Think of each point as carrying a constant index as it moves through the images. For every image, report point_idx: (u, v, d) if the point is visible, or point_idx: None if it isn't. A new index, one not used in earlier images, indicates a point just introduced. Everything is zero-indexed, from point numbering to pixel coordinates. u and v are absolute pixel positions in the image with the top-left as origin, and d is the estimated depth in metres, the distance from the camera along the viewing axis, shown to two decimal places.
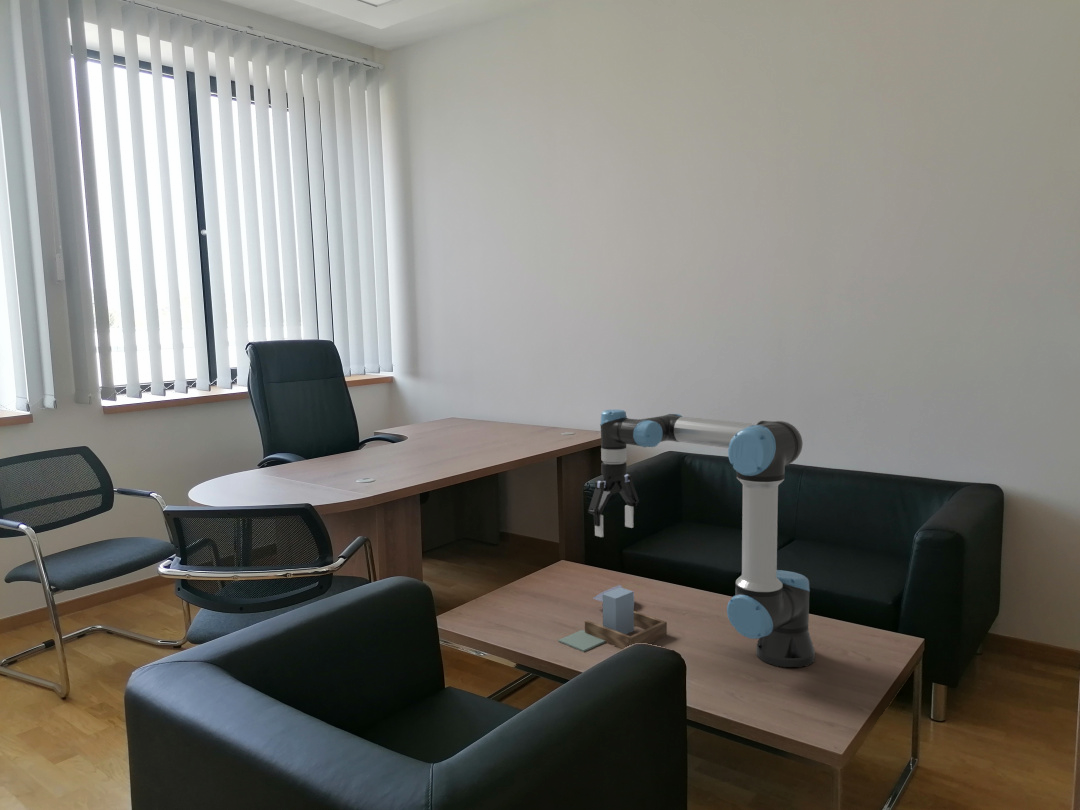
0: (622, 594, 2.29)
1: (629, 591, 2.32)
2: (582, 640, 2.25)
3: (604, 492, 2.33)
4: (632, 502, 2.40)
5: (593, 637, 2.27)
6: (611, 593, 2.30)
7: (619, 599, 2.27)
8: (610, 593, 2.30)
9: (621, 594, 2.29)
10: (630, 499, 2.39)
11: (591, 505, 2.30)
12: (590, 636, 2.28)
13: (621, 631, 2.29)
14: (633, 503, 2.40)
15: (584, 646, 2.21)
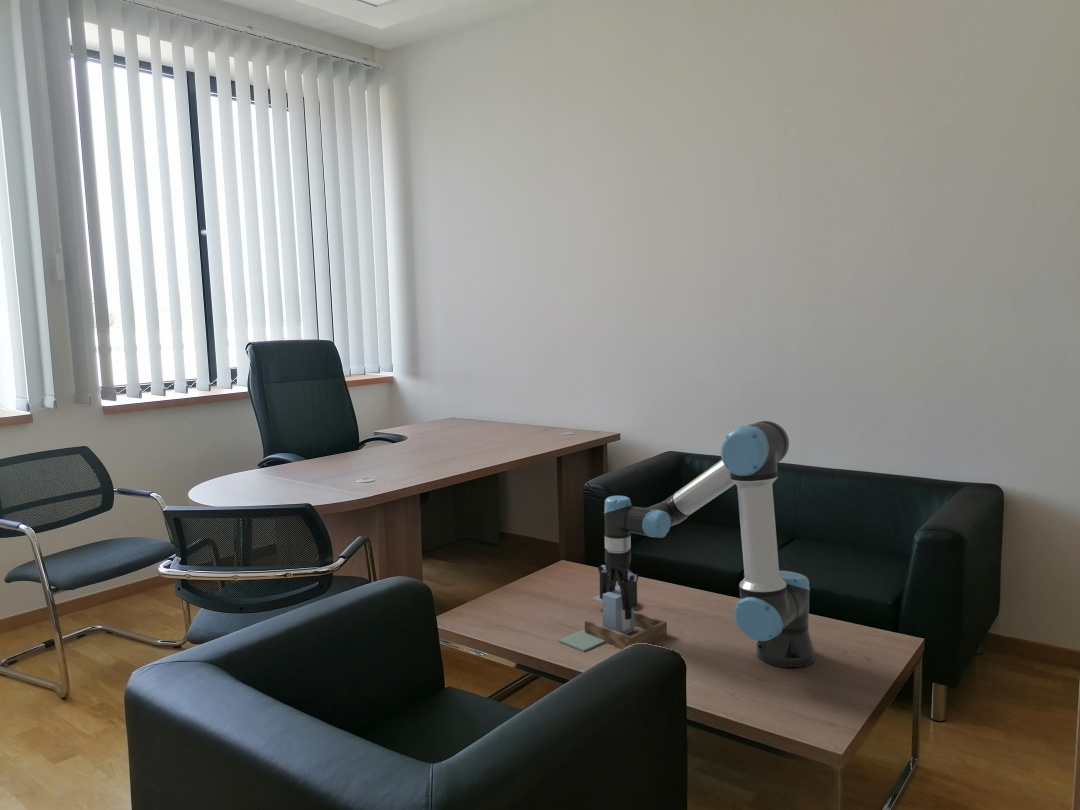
0: None
1: None
2: (582, 640, 2.25)
3: None
4: (624, 604, 2.28)
5: (593, 637, 2.27)
6: (611, 593, 2.30)
7: (619, 598, 2.27)
8: (610, 593, 2.30)
9: None
10: (623, 599, 2.28)
11: None
12: (590, 636, 2.28)
13: (621, 631, 2.29)
14: (624, 605, 2.27)
15: (584, 646, 2.21)
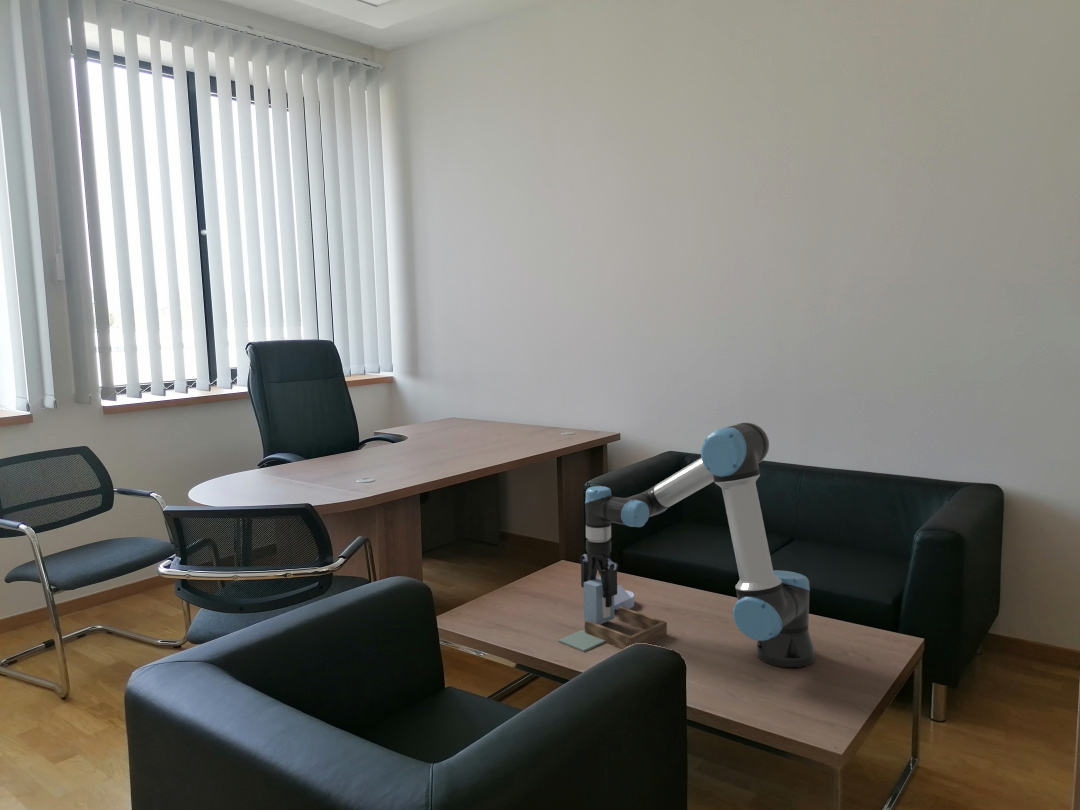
0: None
1: None
2: (582, 640, 2.25)
3: None
4: (604, 592, 2.33)
5: (593, 637, 2.27)
6: (592, 581, 2.35)
7: (599, 587, 2.32)
8: (591, 581, 2.35)
9: None
10: (603, 587, 2.33)
11: None
12: (590, 636, 2.28)
13: (602, 618, 2.34)
14: (605, 593, 2.33)
15: (584, 646, 2.21)
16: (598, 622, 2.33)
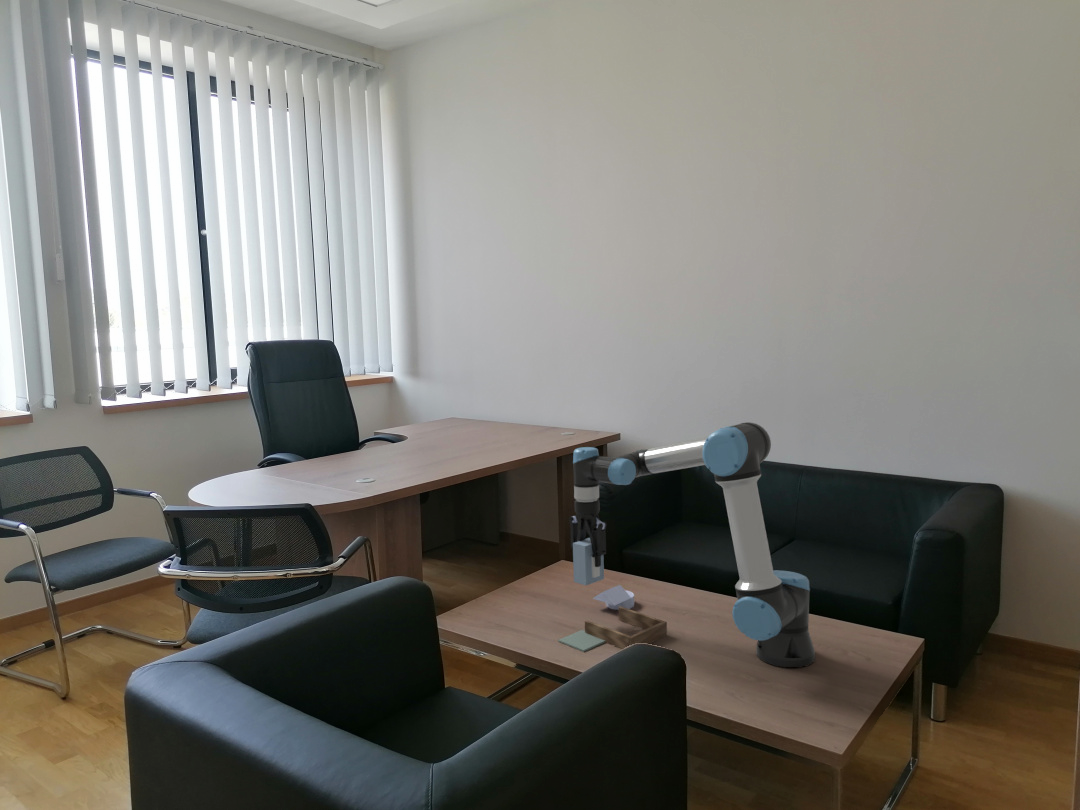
0: None
1: None
2: (582, 640, 2.25)
3: None
4: (593, 551, 2.35)
5: (593, 637, 2.27)
6: (581, 542, 2.37)
7: (588, 546, 2.34)
8: (580, 542, 2.37)
9: None
10: (592, 547, 2.35)
11: None
12: (590, 636, 2.28)
13: (591, 578, 2.36)
14: (594, 553, 2.34)
15: (584, 646, 2.21)
16: (587, 582, 2.35)
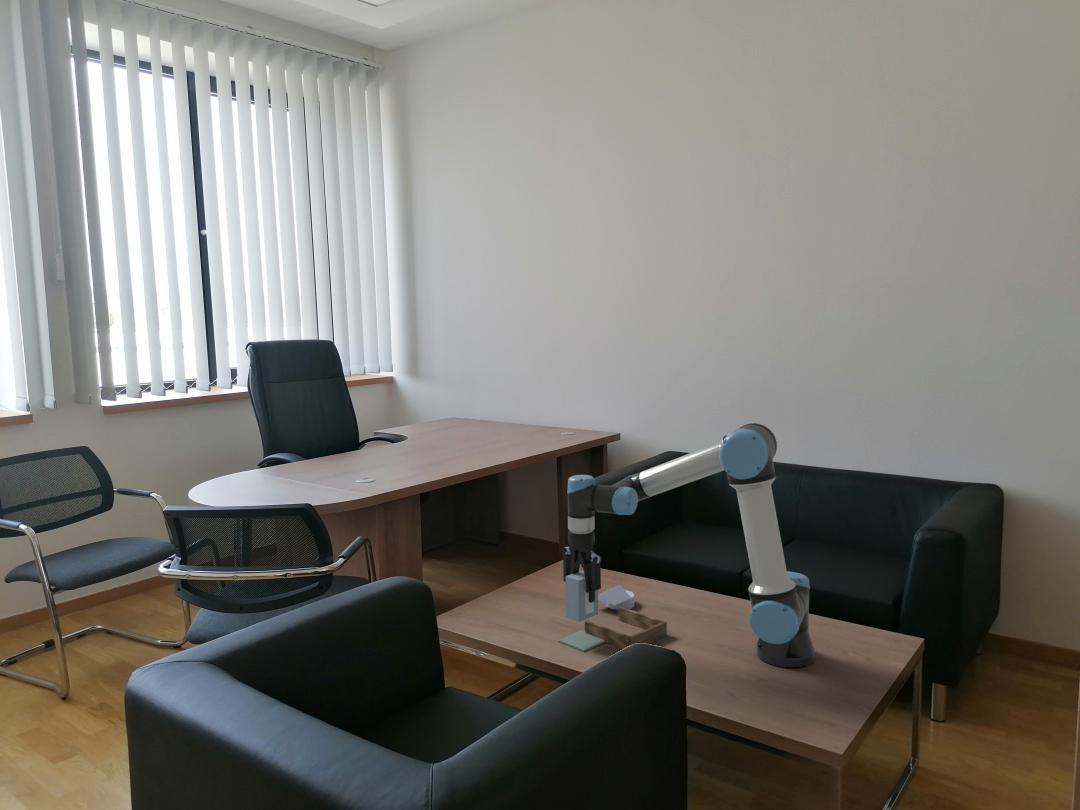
0: None
1: None
2: (582, 640, 2.25)
3: None
4: (587, 586, 2.21)
5: (593, 637, 2.27)
6: (574, 575, 2.23)
7: (582, 581, 2.20)
8: (573, 575, 2.23)
9: (584, 576, 2.22)
10: (586, 581, 2.21)
11: None
12: (590, 636, 2.28)
13: (584, 614, 2.22)
14: (588, 588, 2.21)
15: (584, 646, 2.21)
16: (580, 618, 2.21)
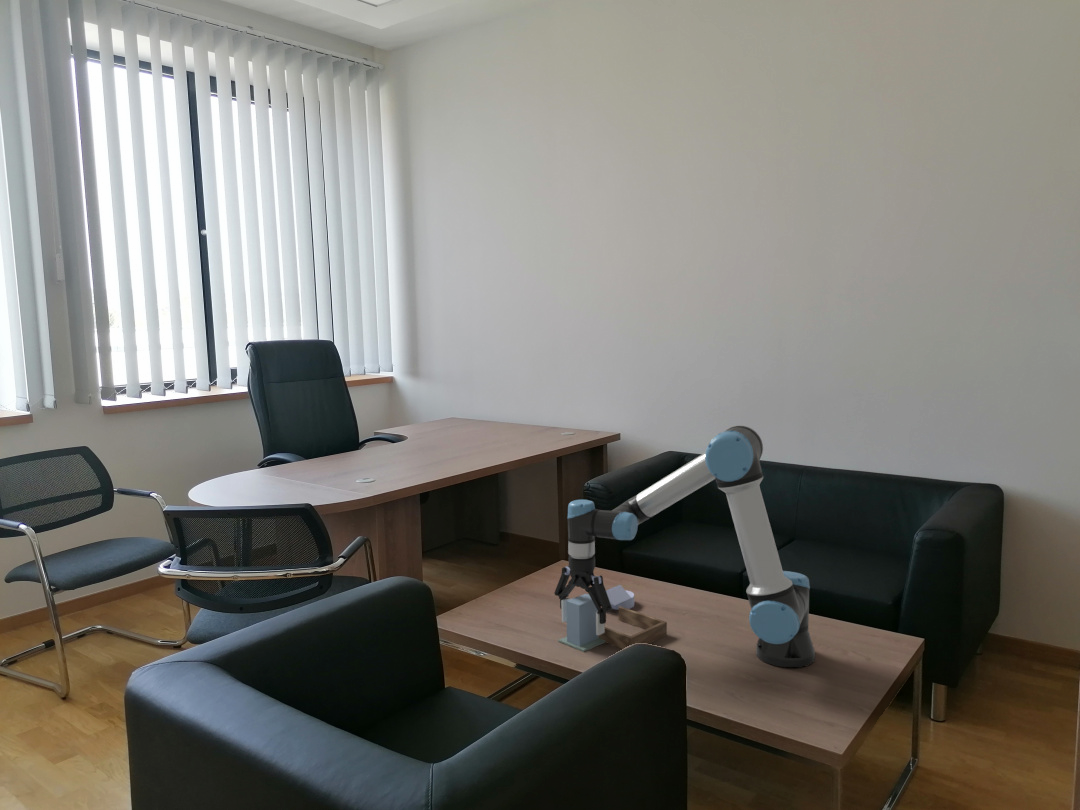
0: (586, 601, 2.23)
1: None
2: None
3: None
4: (597, 608, 2.19)
5: None
6: (575, 599, 2.24)
7: (582, 605, 2.21)
8: (574, 599, 2.24)
9: (585, 601, 2.23)
10: (595, 603, 2.19)
11: None
12: None
13: (585, 639, 2.23)
14: (598, 610, 2.18)
15: (584, 646, 2.21)
16: (581, 642, 2.22)
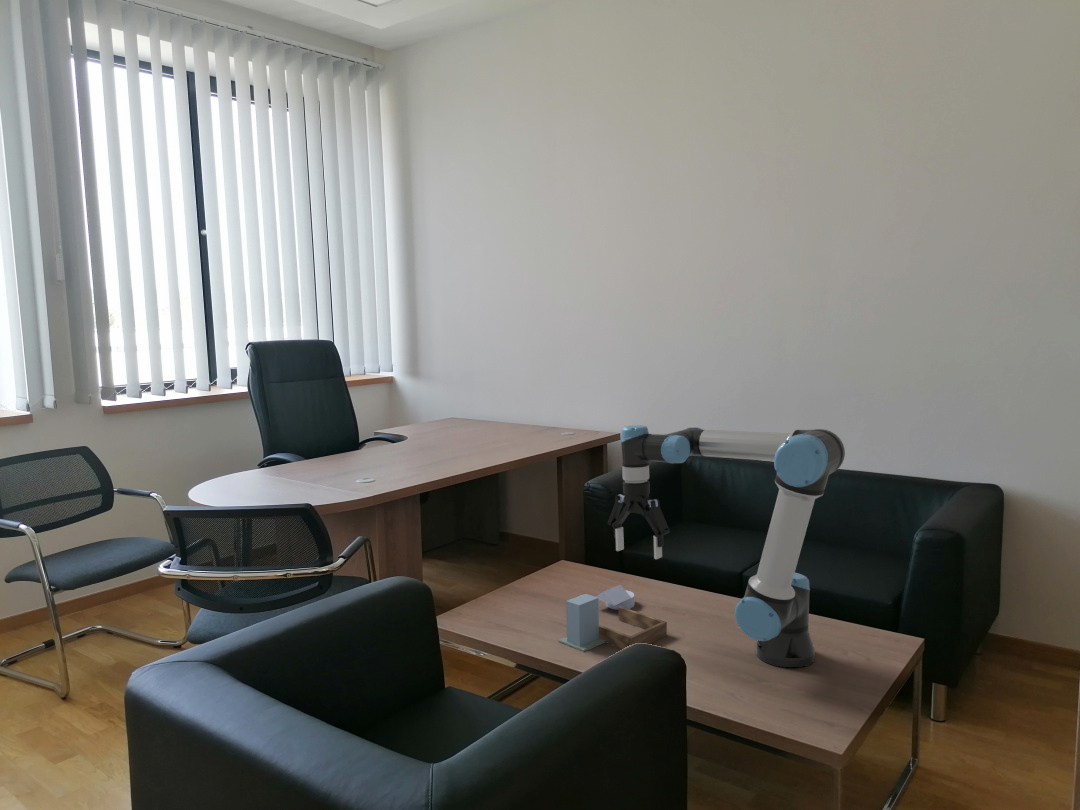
0: (586, 601, 2.23)
1: (594, 597, 2.25)
2: None
3: None
4: (655, 531, 2.18)
5: None
6: (575, 599, 2.24)
7: (582, 605, 2.21)
8: (574, 599, 2.24)
9: (585, 601, 2.23)
10: (652, 527, 2.19)
11: None
12: None
13: (585, 639, 2.23)
14: (656, 533, 2.18)
15: (584, 646, 2.21)
16: (581, 642, 2.22)
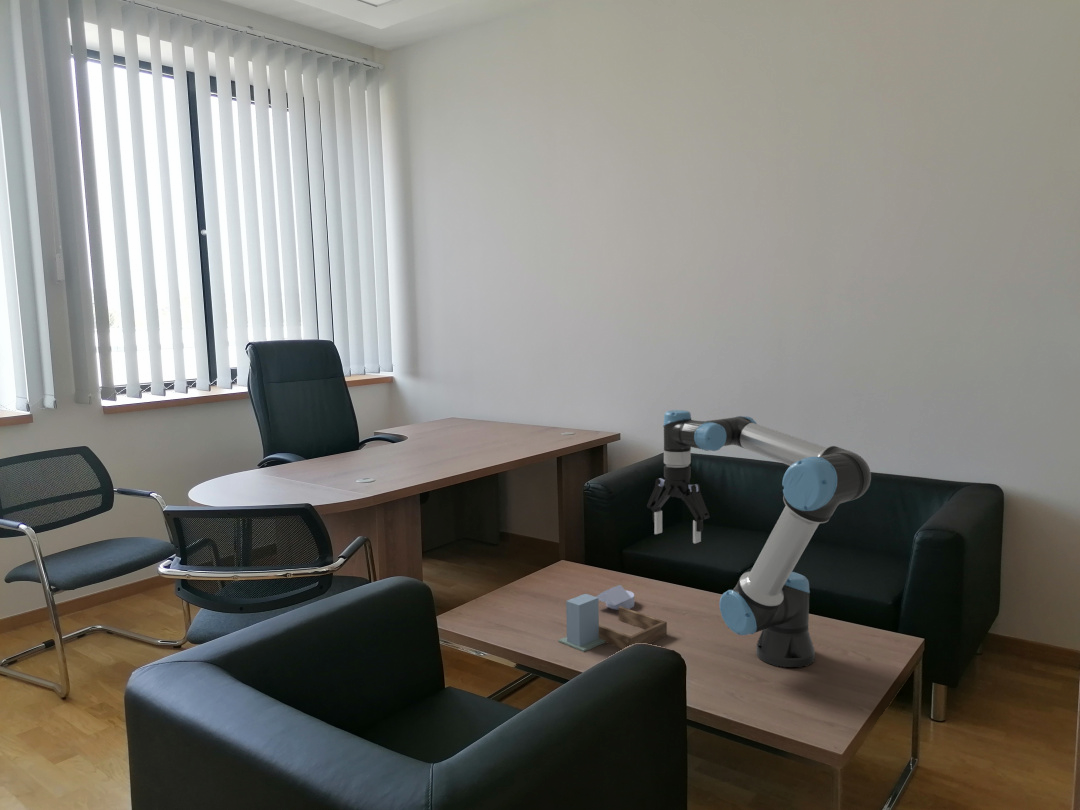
0: (586, 601, 2.23)
1: (594, 597, 2.25)
2: None
3: None
4: (695, 516, 2.20)
5: None
6: (575, 599, 2.24)
7: (582, 605, 2.21)
8: (574, 599, 2.24)
9: (585, 601, 2.23)
10: (692, 511, 2.20)
11: None
12: None
13: (585, 639, 2.23)
14: (696, 517, 2.20)
15: (584, 646, 2.21)
16: (581, 642, 2.22)
